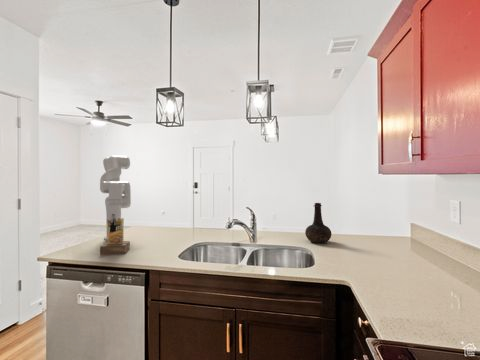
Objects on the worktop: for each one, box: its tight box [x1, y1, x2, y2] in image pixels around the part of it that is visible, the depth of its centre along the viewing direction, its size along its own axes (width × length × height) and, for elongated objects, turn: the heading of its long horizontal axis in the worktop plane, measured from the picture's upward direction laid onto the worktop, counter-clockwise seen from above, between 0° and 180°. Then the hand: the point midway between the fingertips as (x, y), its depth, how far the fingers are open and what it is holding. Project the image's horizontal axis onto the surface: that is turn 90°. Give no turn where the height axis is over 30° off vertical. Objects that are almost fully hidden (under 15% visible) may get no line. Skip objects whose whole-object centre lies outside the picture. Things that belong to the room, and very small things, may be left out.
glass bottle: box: [305, 202, 332, 244], centre depth 200 cm, size 18×18×28 cm
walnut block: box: [99, 240, 131, 256], centre depth 171 cm, size 12×14×5 cm
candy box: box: [106, 217, 125, 244], centre depth 171 cm, size 9×4×15 cm, turn 105°
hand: (115, 230), depth 171 cm, fingers open, 9 cm apart
